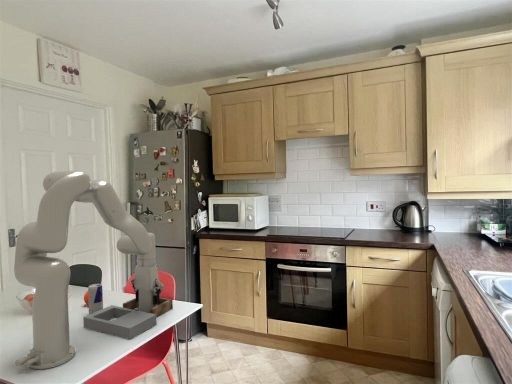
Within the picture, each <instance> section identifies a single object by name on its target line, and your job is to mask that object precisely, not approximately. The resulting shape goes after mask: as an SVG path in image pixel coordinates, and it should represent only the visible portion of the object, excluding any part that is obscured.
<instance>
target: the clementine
mask: <svg viewBox="0 0 512 384" xmlns="http://www.w3.org/2000/svg"><path fill="white" fill-rule="evenodd" d="M83 301H84V303H85V304H86V305H88V306H89V303H88V290H87V291H86V292H85V294H84V296H83Z"/></svg>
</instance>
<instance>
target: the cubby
mask: <svg viewBox="0 0 512 384" xmlns="http://www.w3.org/2000/svg"><path fill="white" fill-rule="evenodd" d="M159 298H160V302H159V303H158V305H157V306H155V307H153V308H151V309H150V313H152V314H156V318H158V317H160V316H162V315H163V314H164V315H165V314H166V313H167V312H170V311H171V310H173V308H174V306H173V305H174V304H173V303H174V302H173V299H171V298H165V297H161V296H159ZM122 307H123V308H128V309H133V310H137V308H138V309H139V301H136V297H135V298H132V299H130V300H128V301H125V302H123V303H122Z"/></svg>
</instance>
